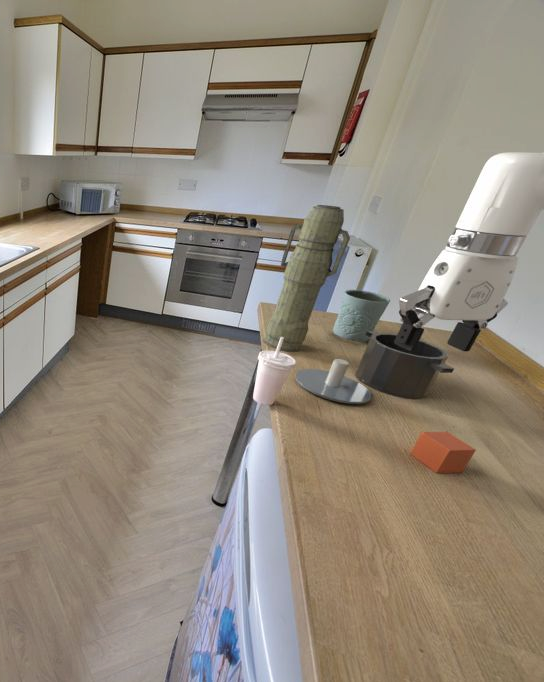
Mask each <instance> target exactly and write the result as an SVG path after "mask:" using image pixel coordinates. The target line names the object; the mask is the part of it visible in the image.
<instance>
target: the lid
mask: <svg viewBox="0 0 544 682" xmlns="http://www.w3.org/2000/svg"><path fill="white" fill-rule="evenodd" d="M349 365H350V363H349V361H347V360H345V359H342V358H334V360H333V361H332V363H331V366H330V368H329V370H324V369H318V368H303V369H300V370H298V371H296V372H295V374H294V380H295V381H296V382H297V384H298V385H299V386H300V387H302V388H303V389H305V390H307V392H310V393H312V394H314V395H316V396H319V397H320V398H324V399H327V400H330V401H333V402H338V403H343V404H347V405H348V404H349V405H361V404H362V405H363V404H366V403H368V402H370V400H371V398H372V393H371V391H370V390H369V389H368V388H367V387H365V386H364V385H363V383H360V382H358V381H357V380H355V379H352V378H350V377H347V376H346V375H345V374H346V372H347V369H348V367H349Z"/></svg>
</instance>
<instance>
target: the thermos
mask: <svg viewBox="0 0 544 682" xmlns="http://www.w3.org/2000/svg"><path fill="white" fill-rule="evenodd" d="M344 220H345V211H344V209H343V208H341V207H340V206H337V205H336V206H335V205H328V204H327V205H326V204H317V205H316V206H312V207H311V209H310V210H309V211H308V213H307V215H306V216H305V218H304V220H303V223H298V224H296V225H295V226H293V227H292V228H291V230H290V232H289V236H288V239H287V242H286V246H285V248H284V251H283V255H282V259H281V262H280V266H281V267H284V274H283V283H282V286H281V290H280V293H279V296H278V298H277V299H278V300H277V302H276V306H275V308H274V312H273V315H272V317H271V318H270V319H269V320H268V323H267V326H266V329H265V335H264V338H263V343H264V344H265V345H266V346H268V347H270V348H272V349H277V346H278V343H279V340H280V337H284V339H283V342H282V345H281V348H280V351H282V352H292V353H295V352H299V351H301V348H302V344H303V343H304V342H305V339H306V337H307V334H308V331H309V321H310V318H311V316H312V313H313V310H314V307H315V304H316V302H317V299H318V296H319V293H320V291H321V288H322V287H323V286H324V285H325V284H326V281H327V278H328V277H331V276H333V275H335V274H336V273H337V272H338V270H339V267H340V264H341V261H342V259H343V256H344V254H345V251H346V249H347V246H348V244H349V242H350V239H351V237H350V234H349V231H347V230H345V229H343V225H344V222H345V221H344ZM297 229H299V230H300V233H299V235H298V242H297V244H296V245H295V248H294V250H293V251H292V253H291V254H290V256H289V255H288V254H289V252H290V248H291V245H292V242H293V239H294V236H295V232H296V231H297ZM340 235H342V238H343V240H342V243H341V245H340V248H339V250H338V253H337V256H336V258H335V262H334V263H333V253H334V247H335V244H336V243H337V241H338V239H339V236H340ZM288 256H289V258H288ZM287 258H288V261H287ZM286 261H287V262H286ZM332 265H333V267H332ZM331 267H332V269H331Z"/></svg>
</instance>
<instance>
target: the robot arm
mask: <svg viewBox="0 0 544 682" xmlns="http://www.w3.org/2000/svg"><path fill="white" fill-rule="evenodd" d="M543 210H544V152H528V151H527V152H525V151H524V152H522V151H520V152H519V151H516V152H515V151H509V152H501V153H497V154H494V155H493V156H491V157H490V158H489V159H488V160H487V161H486V162H485V164H484V165H483V168H482V169H481V171H480V173H479V176H478V178H477V180H476V182H475V184H474V186H473V188H472V190H471V192H470V195H469V197H468V199H467V202H466V203H465V205H464V208H463V210H462V211H461V214H460V216H459V218H458V221H457V223H456V224H455V227H454V229H453V231H452V233H451V235H450V236H449V238H448V239H447V244H446V245H445V248H444V249H442V251H441V252H440V254H439V255H438V256H437V258H436V259H435V261H434V262H433V263H432V265H431V266H430V268H429V270H428V272H427V273H426V275H425V276H424V279H422V282H421V284H420V286H419V287H418V290H416V291H414V292H412V293H409V294H406V295H405V296H402V297H400V298H399V300H398V301H399V302H398V303H399V311H398V314H399V316H400V322H401V323H402V324H401V326H400V328H399V330H398V332H397V333H396V334H397V337H396V339H395V341H394V343H395V344H396V345H398V346H400V347H402V348H404V349H406V350H408V351H414V350H415V348H416V346H417V344H418V342H419V340H421V338H422V336H423V334H424V331H425V328H423V326H425V325H426V324H428V323H429V322H430V321H432V320H433V319H434V318H436V319H439V320H443V321H457V324H456V325H455V327H454V329H453V330H452V332H451V334H450V336H449V338H448V340H447V342H446V344H447V345H448V346H450V347H452V348H454V349H457V350H460V351H462V352H470V351H471V349H472V347H473V345H474V344H475V342H476V339H477V338H478V336H479V334H480V333H481V331H482V330H485V329H486V328H487V327H488V323H490V322H492V321H493V320H494V319H496V318H497V317H498V314H499V313H500V312H501V311H502V310H503V309H505V308H506V307H507V306H508V304H509V302H508V301H507V300H506V299H505V296H506V294H507V293H508V290H509V288H510V285H511V284H512V281H513V278H514V275H515V273H516V269H517V265H518V262H519V261H518V260H519V257H517V255H518V254H519V252H520V250H521V249H522V246H523V245H524V243H525V241H526V239H527V238H528V236H529V234H530V232H531V230H532V228H533V226H534V225H535V223H536V221H537V219H538V217H539V215H540V214H541V212H542V211H543ZM420 314H421V316H420V317H419V316H418V315H420ZM458 321H459V322H458Z"/></svg>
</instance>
